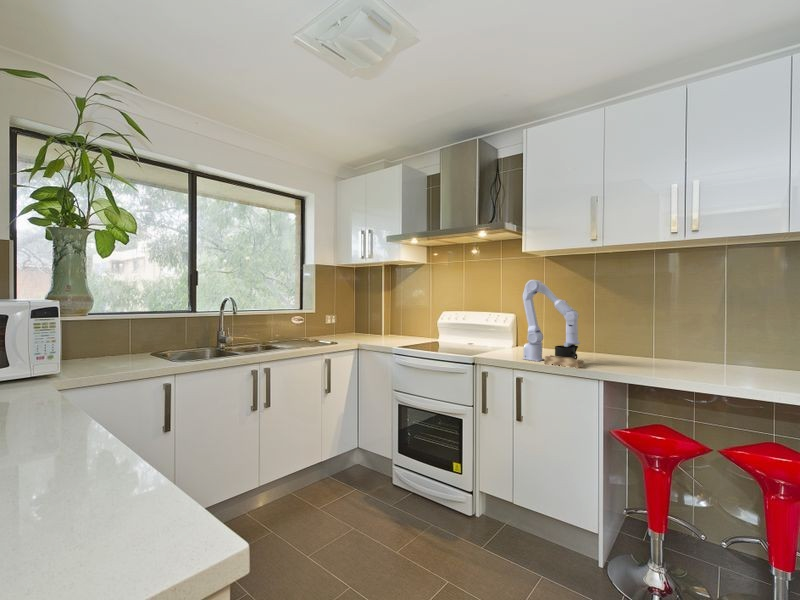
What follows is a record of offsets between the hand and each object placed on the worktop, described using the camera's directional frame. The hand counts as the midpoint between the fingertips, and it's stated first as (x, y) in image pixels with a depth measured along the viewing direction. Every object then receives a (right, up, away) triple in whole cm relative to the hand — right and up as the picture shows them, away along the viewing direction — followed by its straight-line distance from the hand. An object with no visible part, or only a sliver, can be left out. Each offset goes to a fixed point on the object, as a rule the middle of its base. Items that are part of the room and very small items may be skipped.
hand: (571, 359), depth 210 cm
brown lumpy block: (-7, -2, -6) cm, 9 cm away
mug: (-4, -2, -4) cm, 7 cm away
